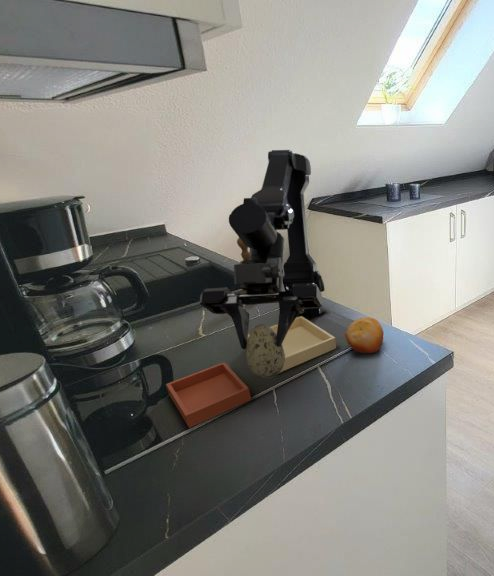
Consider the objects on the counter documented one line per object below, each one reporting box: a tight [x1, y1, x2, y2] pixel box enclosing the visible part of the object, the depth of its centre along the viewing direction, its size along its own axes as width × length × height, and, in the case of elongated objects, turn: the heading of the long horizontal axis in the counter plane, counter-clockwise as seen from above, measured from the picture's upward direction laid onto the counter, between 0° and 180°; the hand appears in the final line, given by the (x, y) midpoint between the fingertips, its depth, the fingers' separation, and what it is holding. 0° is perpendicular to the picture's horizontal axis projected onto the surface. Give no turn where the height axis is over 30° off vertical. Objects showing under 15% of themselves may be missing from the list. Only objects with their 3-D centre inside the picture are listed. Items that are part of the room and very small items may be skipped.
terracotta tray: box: [165, 361, 252, 429], centre depth 73 cm, size 12×10×2 cm
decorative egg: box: [246, 323, 285, 379], centre depth 68 cm, size 6×6×10 cm
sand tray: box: [248, 316, 337, 374], centre depth 89 cm, size 15×13×3 cm
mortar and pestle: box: [236, 237, 250, 294], centre depth 111 cm, size 7×6×18 cm
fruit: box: [344, 316, 384, 354], centre depth 88 cm, size 8×8×8 cm
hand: (260, 347), depth 66 cm, fingers closed on decorative egg, 5 cm apart
